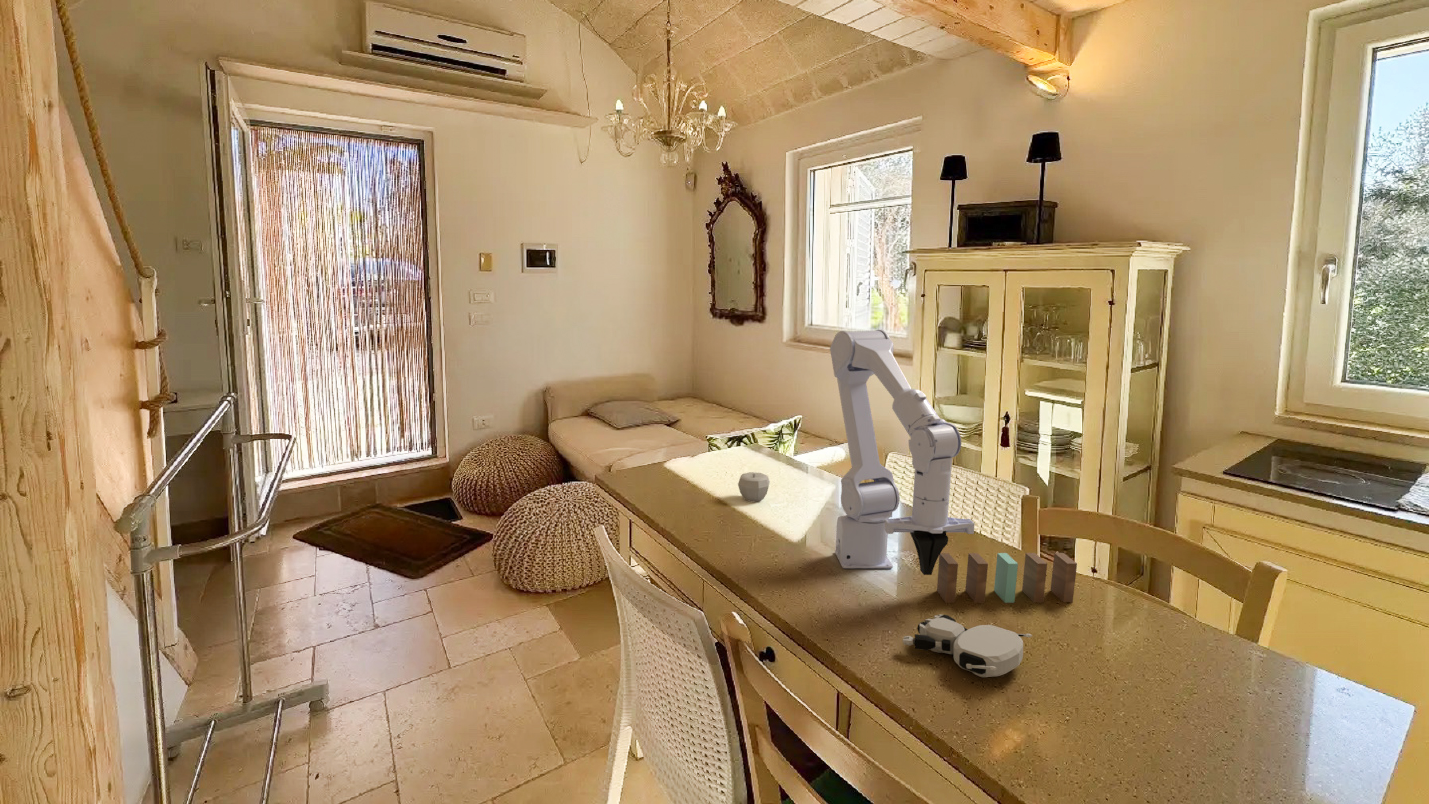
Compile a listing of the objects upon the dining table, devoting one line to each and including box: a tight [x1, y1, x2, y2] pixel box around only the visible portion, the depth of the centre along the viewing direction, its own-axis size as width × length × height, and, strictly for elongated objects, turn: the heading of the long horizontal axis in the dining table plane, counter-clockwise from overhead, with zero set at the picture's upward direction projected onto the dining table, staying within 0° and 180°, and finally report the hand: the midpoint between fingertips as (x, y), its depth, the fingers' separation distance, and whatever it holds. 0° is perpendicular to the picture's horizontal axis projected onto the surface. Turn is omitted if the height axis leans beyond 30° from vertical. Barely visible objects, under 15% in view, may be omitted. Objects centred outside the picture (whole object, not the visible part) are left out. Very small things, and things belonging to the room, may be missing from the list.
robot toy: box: [902, 613, 1033, 678], centre depth 100 cm, size 12×4×15 cm
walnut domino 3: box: [1021, 552, 1048, 604], centre depth 119 cm, size 2×4×7 cm, turn 1°
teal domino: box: [993, 552, 1019, 604], centre depth 119 cm, size 2×4×7 cm, turn 1°
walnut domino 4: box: [1050, 552, 1078, 603], centre depth 119 cm, size 2×4×7 cm, turn 1°
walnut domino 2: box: [964, 552, 989, 604], centre depth 119 cm, size 2×4×7 cm, turn 1°
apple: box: [737, 471, 770, 503], centre depth 168 cm, size 8×8×7 cm
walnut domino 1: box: [936, 552, 959, 604], centre depth 118 cm, size 2×4×7 cm, turn 1°
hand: (925, 572), depth 118 cm, fingers closed
